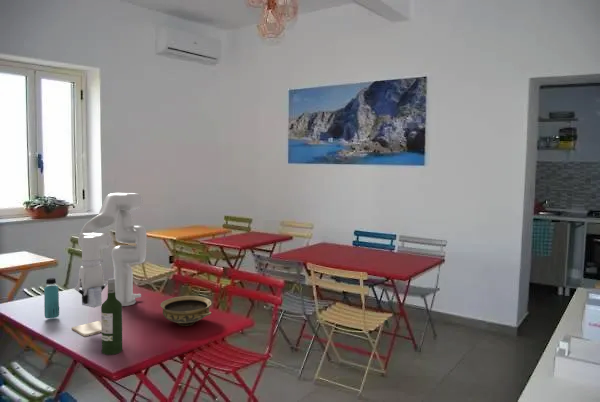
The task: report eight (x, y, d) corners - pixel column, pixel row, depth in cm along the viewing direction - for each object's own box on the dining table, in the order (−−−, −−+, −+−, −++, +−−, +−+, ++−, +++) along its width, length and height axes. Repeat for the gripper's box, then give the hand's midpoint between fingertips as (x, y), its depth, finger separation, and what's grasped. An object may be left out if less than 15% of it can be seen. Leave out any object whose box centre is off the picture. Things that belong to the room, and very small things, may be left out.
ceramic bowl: (144, 324, 229) (144, 303, 229) (181, 311, 250) (181, 292, 249) (191, 337, 214) (191, 315, 213) (226, 322, 235) (226, 302, 234)
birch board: (99, 322, 230) (99, 320, 230) (112, 329, 222) (112, 327, 221) (71, 329, 220) (71, 327, 220) (84, 336, 212) (84, 334, 212)
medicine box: (101, 305, 220) (101, 286, 219) (93, 308, 216) (93, 289, 215) (89, 303, 224) (89, 284, 223) (81, 305, 220) (81, 286, 219)
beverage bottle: (53, 322, 230) (52, 280, 228) (41, 320, 231) (40, 279, 229) (62, 317, 236) (61, 277, 234) (50, 316, 237) (49, 276, 236)
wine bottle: (97, 353, 194) (96, 280, 192) (111, 346, 202) (110, 275, 199) (112, 356, 192) (112, 282, 189) (126, 349, 199) (126, 277, 196)
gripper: (105, 259, 227) (105, 296, 229) (68, 264, 214) (69, 304, 216) (113, 261, 222) (113, 300, 224) (75, 267, 209) (76, 307, 211)
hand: (91, 301), depth 220 cm, fingers closed on medicine box, 5 cm apart
